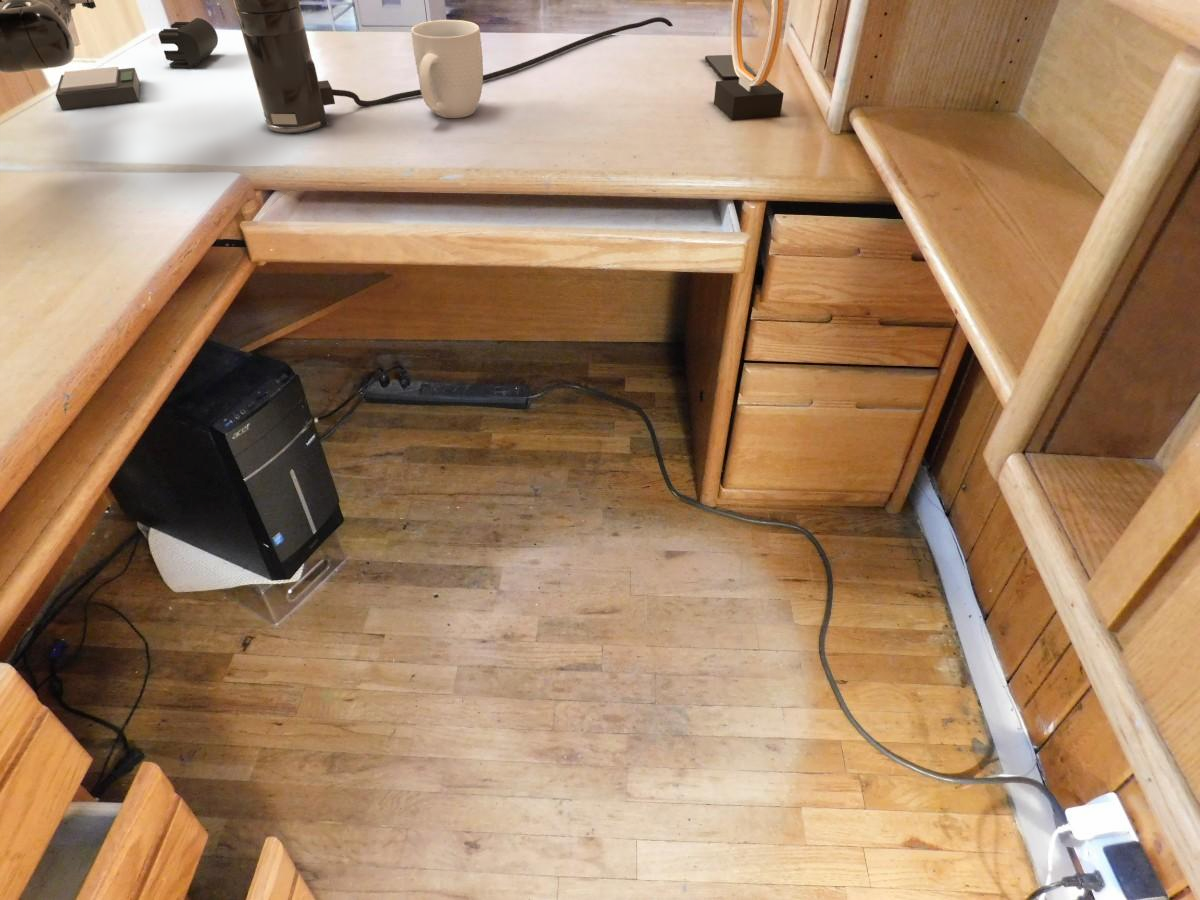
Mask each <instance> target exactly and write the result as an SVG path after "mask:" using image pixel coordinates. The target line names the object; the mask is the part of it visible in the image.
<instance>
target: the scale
mask: <svg viewBox="0 0 1200 900" xmlns="http://www.w3.org/2000/svg"><path fill="white" fill-rule="evenodd" d="M140 84H141V82H140V79H139V75H138V73H137V70H136V68H135V67H129V68H128V67H127V68H119V66H110V67H100V68H89V69H79V70H70V71H64V73H63V74H61V76H60V78H59V82H58V84H57V87H56V88H57V89H56V92H55V98H56V101H57V102H58V104H59V107H60V109H61V111H67V110H75V109H83V108H84V109H85V108H95V107H103V106H112V105H120V104H121V105H122V104H128V103H139V101H140Z"/></svg>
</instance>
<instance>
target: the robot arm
mask: <svg viewBox="0 0 1200 900" xmlns="http://www.w3.org/2000/svg"><path fill="white" fill-rule="evenodd" d="M232 1H233V5H234V8H235V12H236V16H237V19H238V24H239V26H240V30H241V34H242V38H243V41H244V45H245V48H246V53H247V56H248V59H249V63H250V67H251V70H252V74H253V77H254V82H255V85H256V90H257V92H258V96H259V100H260V103H261V107H262V110H263V115H264V118H265V124H266V127H267V129H268V130H270V131H272V132H277V133H282V134H283V133H284V134H292V133H293V134H296V133H304V132H309V131H312V130H315V129H318V128H321V127H326V126H328V125H329V124H328V119H327V118H328V117H327V115H326V109H325V106H330V105H336V101H335V96H336V97H345V98H349V99H352V100H353V101H354V103H355V104H356V105H357V106H360V107H365V108H366V107H372V106H378V105H385V104H387V103H391V102H394V101H398V100H402V99H408V98H413V97H418V96H422V94H421V90H420V89H415V90H410V91H404V92H399V93H394V94H391V95H388V96H385V97H381V98H378V99H377V98H376V99H374V100H373V99H372V100H364V99H363V100H362V99H360V97H359V95H358V94H357V93H355V92H353V91H350V90H345V89H334V88H333V87H332V86H331V83H330V81H329V80H319V78H318V74H317V70H316V65H315V62H314V60H313V58H312V54H311V48H310V45H309V39H308V35H307V30H306V26H305V23H304V18H303V13H302V9H301V4H300V0H232ZM78 4H81V6H82V8H87V9H91V10H93V9H95V8H97V5H96V3H95V0H0V72H1V73H3V74H19V73H25V72H26V73H27V72H32V71H38V70H46V69H52V68H53V69H54V68H59V67H64V66H66V65H68V64H70V63H71V62H72V61H73V60H74V58H75V55H76V54H75V51H76V50H75V47H74V43H73V39H72V37H71V34H70V32H69V30H68V27H69V24H70V21H71V13H72V10H74V9H75V8H76V7H77V5H78ZM654 23H663V24H664V25H666V26H668V27H673V26H674V25H673V23H672V22H671V21H670V20H669V19H668V18H666V17H662V16H658V17H656V16H655V17H652V18H648V19H645V20H641V21H639V22H635V23H630V24H624V25H620V26H618V27H617V26H616V27H614V28H611V29H607V30H604V31H601V32H598V33H594V34H591V35H589V36H586V37H584V38H582V39H578V40H576V41H573V42H571V43H569V44H566V45H563V46H561V47H559V48H556V49H554V50H552V51H551V50H550V51H549V52H547V53H544V54H541V55H539V56H537V57H534V58H531V59H529V60H526V61H523V62H521V63H517V64H516V65H512V66H510V67H506V68H503V69H500V70H496V71H494V72H489V73H485V74H483V82H484V81H488V80H491V79H495V78H498V77H502V76H505V75H507V74H510V73H514V72H516V71H519V70H521V69H525V68H528V67H529V66H532V65H534V64H538V63H540V62H542V61H545V60H547V59H549V58H550V59H551V58H552V57H554V56H557V55H560V54H562V53H565V52H566V51H569V50H571V49H573V48H576V47H579V46H581V45H584V44H586V43H589V42H592V41H594V40H598V39H601V38H604V37H608V36H610V35H613V34H617V33H620V32H623V31H627V30H633V29H638V28H641V27H644V26H647V25H650V24H654Z"/></svg>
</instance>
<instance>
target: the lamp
mask: <svg viewBox="0 0 1200 900" xmlns="http://www.w3.org/2000/svg"><path fill="white" fill-rule="evenodd" d="M744 2H745V0H732V6H731V16H730V17H731V18H730V46H731V55H732V59H733V66H734V70H735V73H736V74H737V76H738V77H739V80H726V81H723V80H716V81H715V87H714V97H713V99H714V100H713V104H714V105H715V107H717V109H719V110H720V111H721V112H722V113H723V114H724V115H726V116H727V118H729V119H730V120H731V121H739V120H749V119H752V120H753V119H765V118H774V117H776V118H777V117H781V113H782V106H783V100H784V94H785V93H784V92H783V91H781V90H780V89H779V88H777V87H776V86H775V85H773V84H772V83H771V82H769V81H768V80H767V78H768V77H769V75H770V72H771V71H772V68H773V65H774V62H775V60H776V56H777V53H778V48H779V44H780V39H781V33H782V28H783V27H782V26H783V18H784V0H771V11H770V24H769V32H768V38H767V43H766V48H765V51H764V55H763V58H762V61H761V64H760V66H759V69H758V70H757V73H756V74H757V75H756V77H754V76H753V75H752V74H750V73H749V72H748V71H747V70H746V69H745V67H744V62H745V61H744V56H743V41H742V40H743V39H742V37H743V36H742V25H743V24H742V23H743V8H744ZM743 61H744V62H743Z"/></svg>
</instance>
